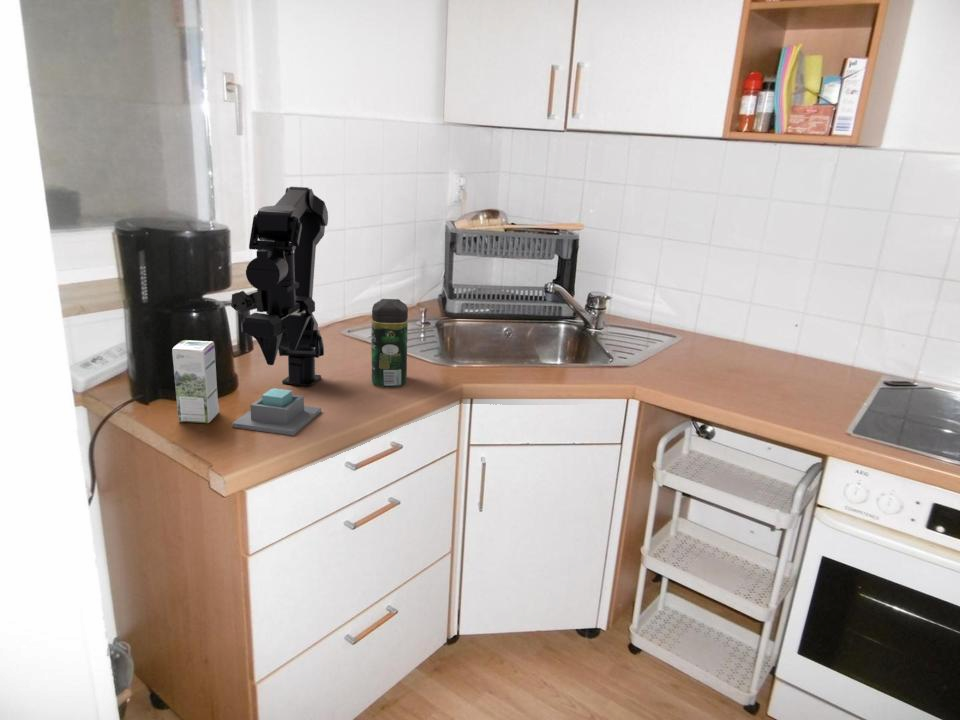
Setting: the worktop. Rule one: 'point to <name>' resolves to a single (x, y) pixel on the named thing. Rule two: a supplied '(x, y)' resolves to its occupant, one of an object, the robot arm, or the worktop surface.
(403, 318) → the coffee jar
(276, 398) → the peg
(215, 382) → the syrup box
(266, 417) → the socket
